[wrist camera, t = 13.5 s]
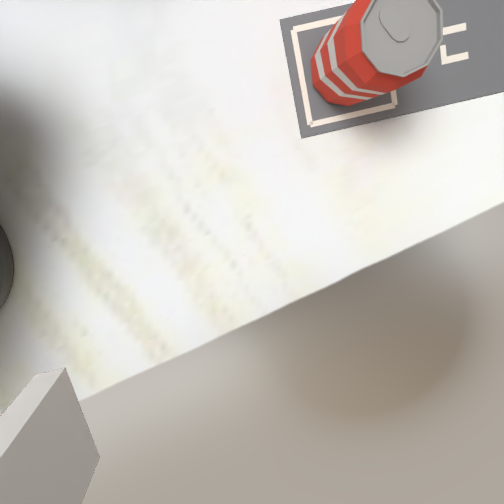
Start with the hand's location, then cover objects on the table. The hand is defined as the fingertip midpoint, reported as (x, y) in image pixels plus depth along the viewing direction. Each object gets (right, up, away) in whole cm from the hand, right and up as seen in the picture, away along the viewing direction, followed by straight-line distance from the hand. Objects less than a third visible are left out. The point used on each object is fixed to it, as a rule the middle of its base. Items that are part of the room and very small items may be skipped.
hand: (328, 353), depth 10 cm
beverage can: (+6, +19, +26) cm, 32 cm away
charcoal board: (+11, +20, +26) cm, 34 cm away
